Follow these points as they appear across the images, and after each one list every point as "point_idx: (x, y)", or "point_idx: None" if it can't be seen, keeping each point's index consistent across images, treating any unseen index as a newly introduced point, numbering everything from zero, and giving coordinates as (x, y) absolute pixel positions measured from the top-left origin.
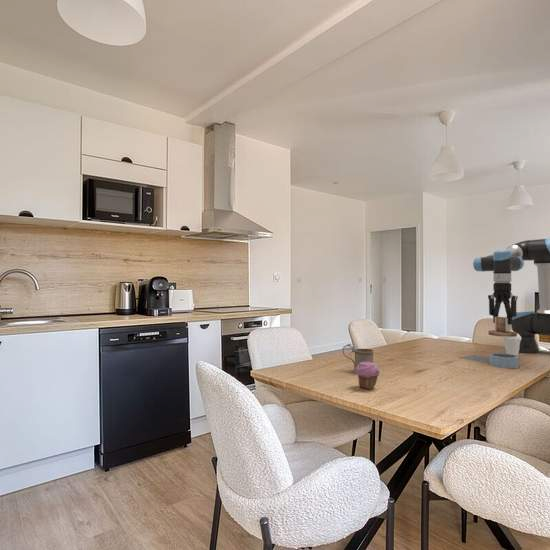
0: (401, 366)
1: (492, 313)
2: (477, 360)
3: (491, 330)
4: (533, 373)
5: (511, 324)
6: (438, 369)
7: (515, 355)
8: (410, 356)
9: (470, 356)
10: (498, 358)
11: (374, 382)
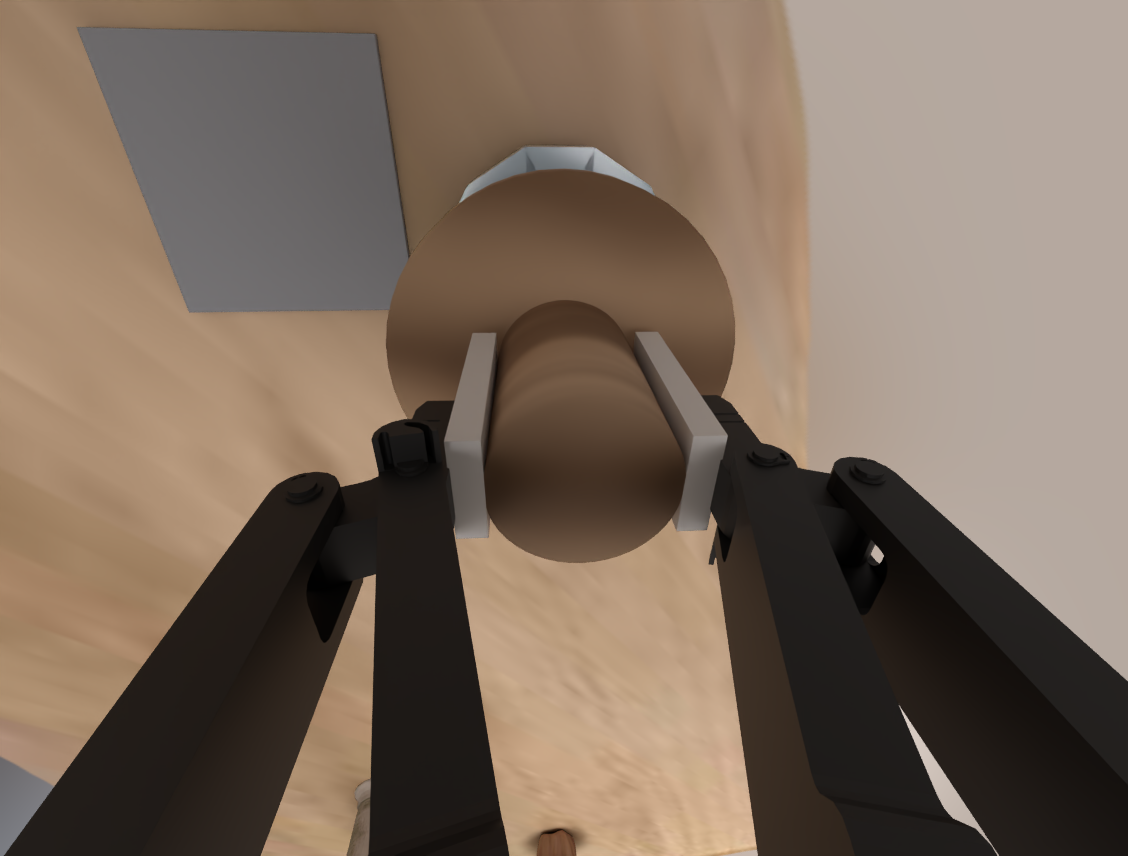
0: (352, 691)
1: (365, 573)
2: (345, 280)
3: (387, 353)
4: (776, 309)
5: (717, 400)
6: None
7: (609, 173)
8: (87, 537)
9: (154, 158)
10: None
11: (571, 849)
